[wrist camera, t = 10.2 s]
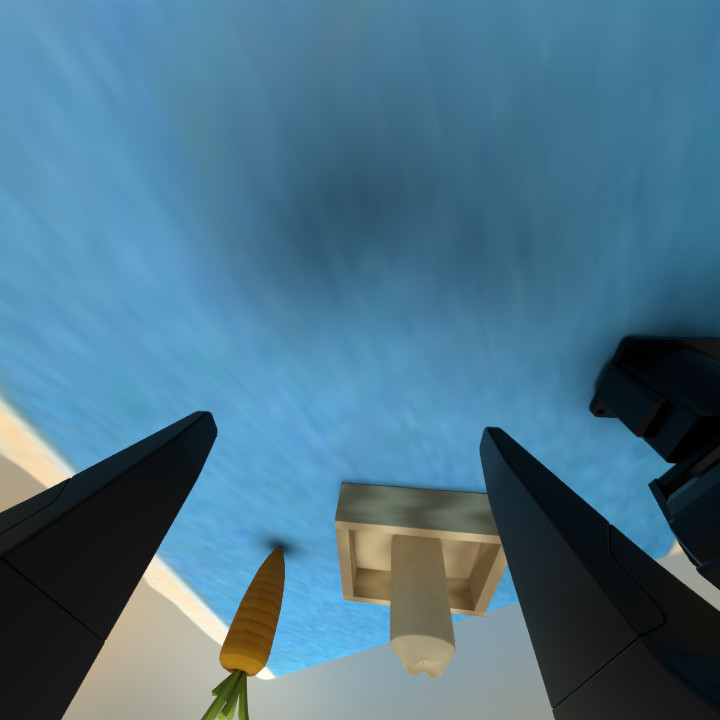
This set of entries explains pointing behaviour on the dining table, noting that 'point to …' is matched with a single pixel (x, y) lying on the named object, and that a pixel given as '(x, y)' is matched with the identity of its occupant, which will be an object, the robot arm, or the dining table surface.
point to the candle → (420, 606)
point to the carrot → (250, 638)
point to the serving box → (425, 519)
